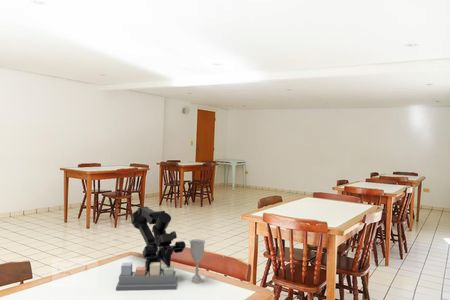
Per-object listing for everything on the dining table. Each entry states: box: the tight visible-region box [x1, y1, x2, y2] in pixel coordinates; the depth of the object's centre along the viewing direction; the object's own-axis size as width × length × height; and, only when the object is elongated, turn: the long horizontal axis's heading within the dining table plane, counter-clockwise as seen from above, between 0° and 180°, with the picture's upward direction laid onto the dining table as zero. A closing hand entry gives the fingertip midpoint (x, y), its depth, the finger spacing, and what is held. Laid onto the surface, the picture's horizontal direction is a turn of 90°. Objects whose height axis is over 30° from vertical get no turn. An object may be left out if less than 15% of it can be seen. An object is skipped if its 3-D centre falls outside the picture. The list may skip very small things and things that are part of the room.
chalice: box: [188, 238, 206, 284], centre depth 165 cm, size 7×7×18 cm
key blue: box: [120, 262, 133, 276], centre depth 159 cm, size 4×4×6 cm
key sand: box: [150, 262, 160, 276], centre depth 160 cm, size 4×4×6 cm
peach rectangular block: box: [135, 266, 147, 276], centre depth 159 cm, size 4×4×6 cm
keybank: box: [115, 270, 178, 291], centre depth 160 cm, size 25×10×5 cm, turn 95°
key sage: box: [163, 265, 175, 276], centre depth 160 cm, size 4×4×6 cm
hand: (169, 266), depth 160 cm, fingers closed
